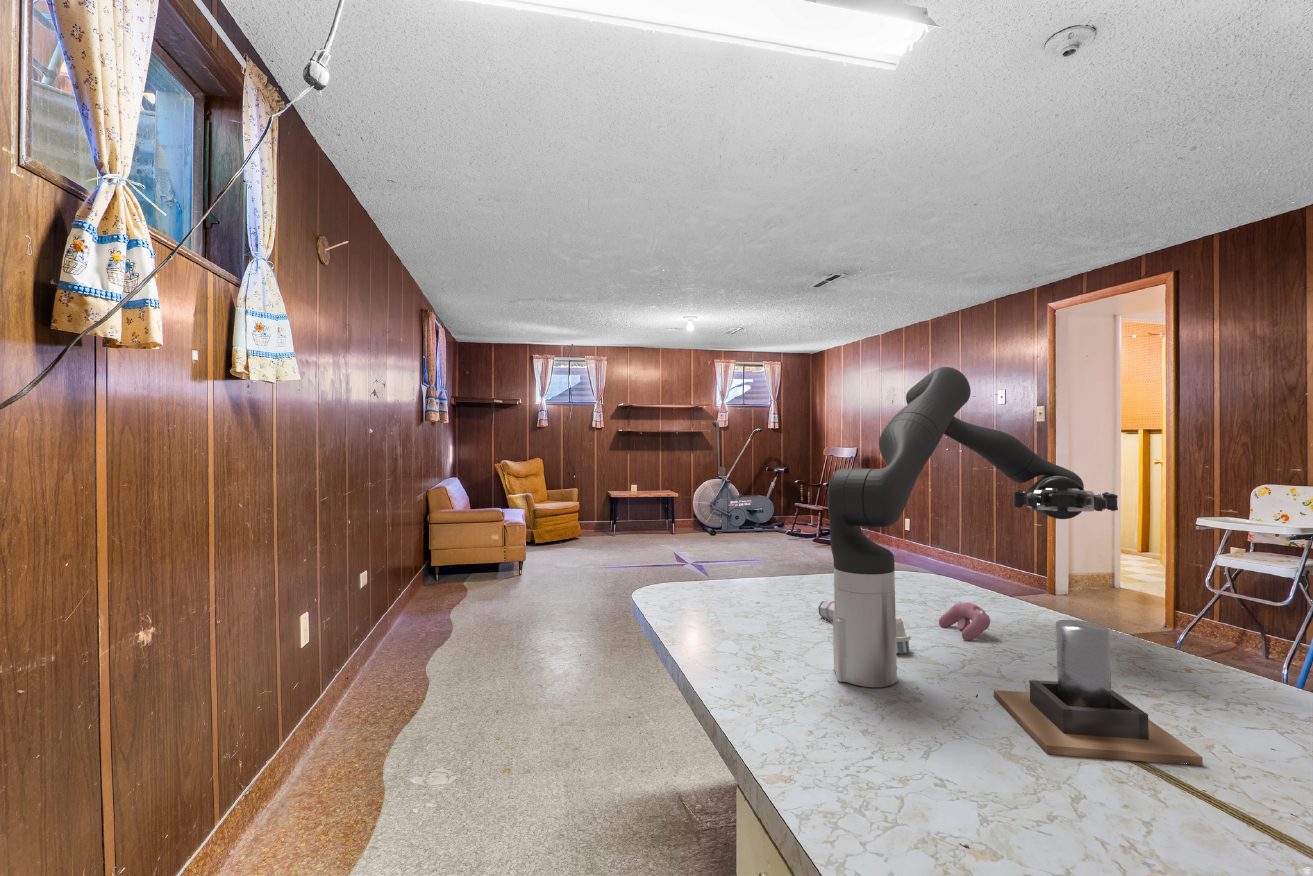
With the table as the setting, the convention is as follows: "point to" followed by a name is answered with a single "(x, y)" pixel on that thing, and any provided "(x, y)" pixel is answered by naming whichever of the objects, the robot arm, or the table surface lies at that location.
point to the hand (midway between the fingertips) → (1066, 503)
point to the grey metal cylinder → (1083, 664)
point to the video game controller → (966, 619)
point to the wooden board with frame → (1092, 727)
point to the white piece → (901, 637)
